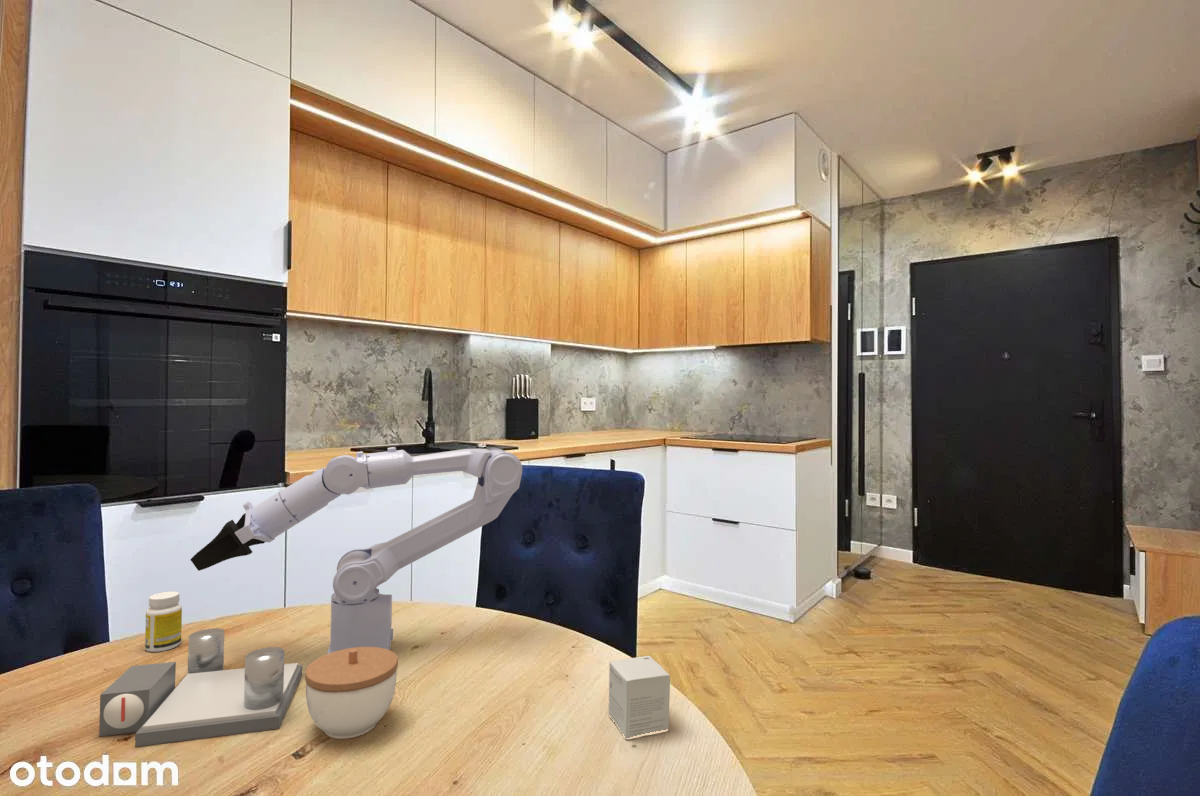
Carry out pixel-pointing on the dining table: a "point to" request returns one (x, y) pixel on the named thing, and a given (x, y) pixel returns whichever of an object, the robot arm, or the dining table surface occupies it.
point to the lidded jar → (350, 690)
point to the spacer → (206, 651)
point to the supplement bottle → (163, 622)
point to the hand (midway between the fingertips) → (203, 559)
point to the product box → (639, 695)
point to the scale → (186, 704)
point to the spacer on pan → (263, 678)
